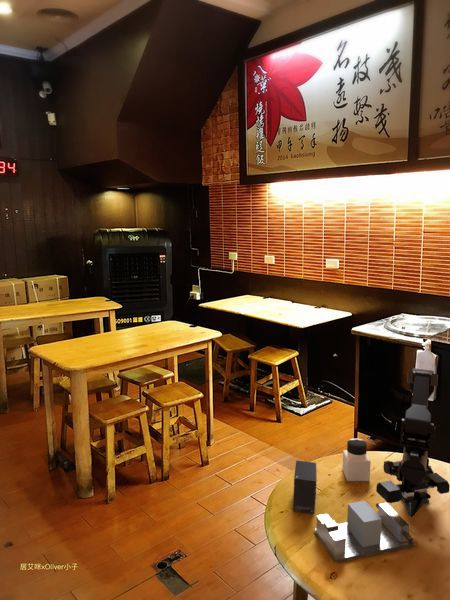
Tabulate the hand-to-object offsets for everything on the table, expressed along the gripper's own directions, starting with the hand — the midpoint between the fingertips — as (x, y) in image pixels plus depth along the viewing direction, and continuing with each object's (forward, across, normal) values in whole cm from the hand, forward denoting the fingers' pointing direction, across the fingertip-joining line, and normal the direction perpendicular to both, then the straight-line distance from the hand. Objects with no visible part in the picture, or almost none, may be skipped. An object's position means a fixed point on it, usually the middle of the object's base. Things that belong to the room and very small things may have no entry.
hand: (410, 516), depth 127 cm
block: (+3, +14, 0) cm, 14 cm away
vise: (+4, +14, 0) cm, 15 cm away
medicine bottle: (+4, 0, -28) cm, 28 cm away
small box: (+4, +22, -19) cm, 30 cm away
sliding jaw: (+3, +5, 0) cm, 6 cm away
